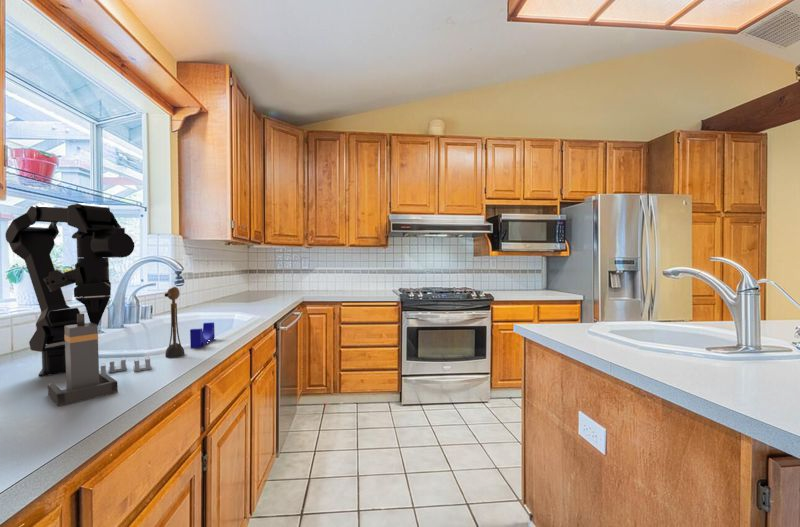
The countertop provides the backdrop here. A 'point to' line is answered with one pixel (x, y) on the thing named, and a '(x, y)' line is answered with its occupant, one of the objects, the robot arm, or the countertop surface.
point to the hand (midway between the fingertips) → (95, 323)
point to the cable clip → (202, 335)
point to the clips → (124, 366)
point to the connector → (81, 354)
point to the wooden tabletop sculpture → (174, 326)
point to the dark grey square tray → (83, 391)
